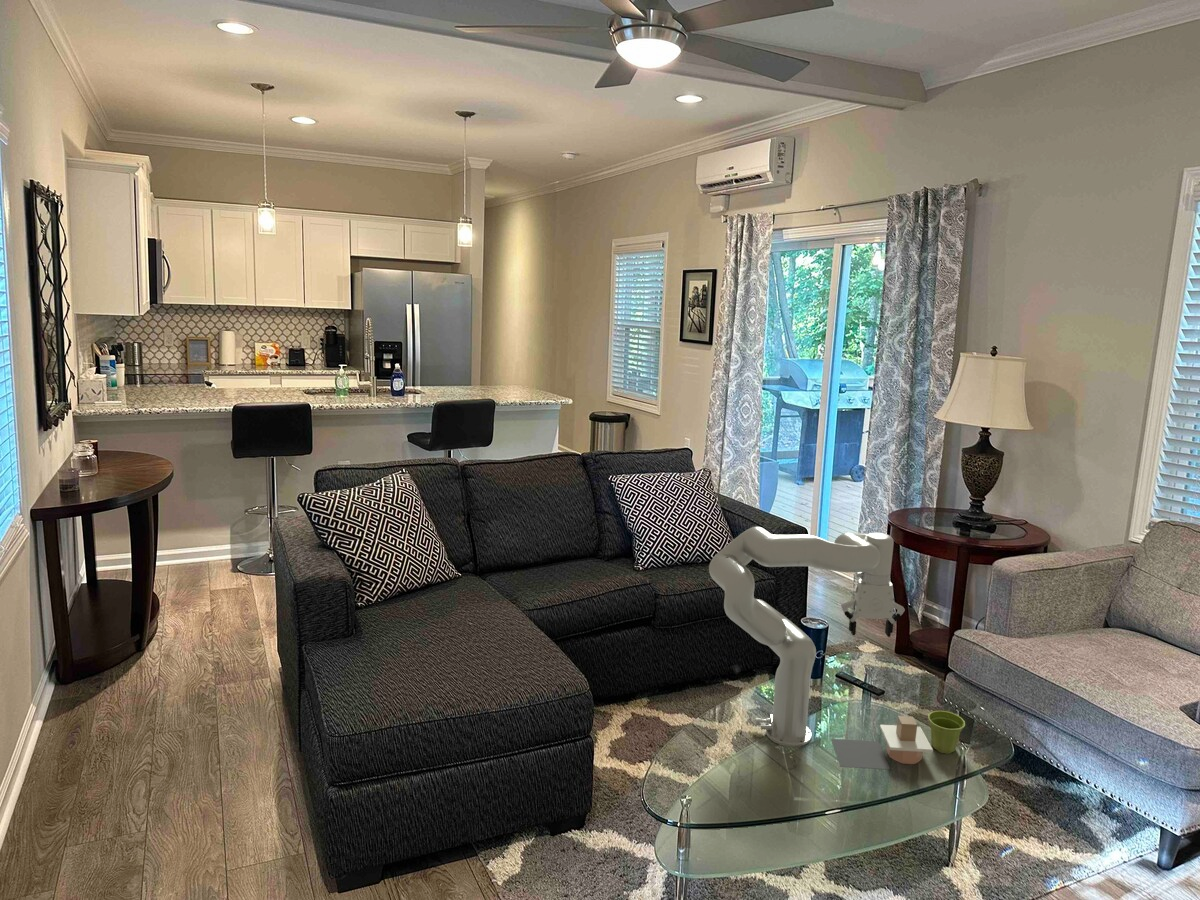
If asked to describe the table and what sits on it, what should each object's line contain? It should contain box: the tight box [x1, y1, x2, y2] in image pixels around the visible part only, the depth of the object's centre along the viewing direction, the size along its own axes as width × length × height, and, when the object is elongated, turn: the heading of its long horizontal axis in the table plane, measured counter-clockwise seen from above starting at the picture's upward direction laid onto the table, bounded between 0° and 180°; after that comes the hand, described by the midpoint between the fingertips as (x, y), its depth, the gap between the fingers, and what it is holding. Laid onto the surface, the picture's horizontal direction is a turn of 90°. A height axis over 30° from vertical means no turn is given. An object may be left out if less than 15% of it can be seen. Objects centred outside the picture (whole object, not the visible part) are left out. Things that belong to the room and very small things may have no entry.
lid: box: [879, 715, 934, 753], centre depth 227 cm, size 11×11×6 cm
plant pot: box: [927, 710, 966, 755], centre depth 232 cm, size 9×9×9 cm
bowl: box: [885, 744, 924, 765], centre depth 228 cm, size 9×9×5 cm
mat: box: [830, 738, 891, 771], centre depth 229 cm, size 13×13×1 cm
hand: (870, 634), depth 237 cm, fingers open, 9 cm apart
